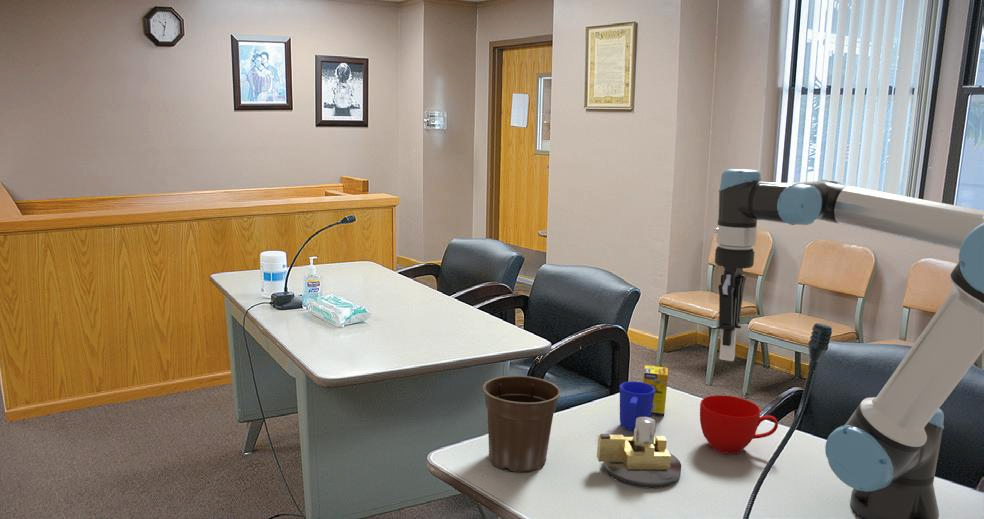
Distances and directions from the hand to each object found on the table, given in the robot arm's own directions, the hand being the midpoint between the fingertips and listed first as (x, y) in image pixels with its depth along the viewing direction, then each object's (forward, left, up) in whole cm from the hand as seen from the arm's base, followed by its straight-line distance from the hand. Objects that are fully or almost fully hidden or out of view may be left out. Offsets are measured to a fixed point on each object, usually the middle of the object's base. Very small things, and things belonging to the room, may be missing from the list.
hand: (726, 359), depth 161 cm
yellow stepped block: (+13, +13, -22) cm, 29 cm away
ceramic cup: (+1, -13, -25) cm, 28 cm away
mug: (+23, -6, -25) cm, 34 cm away
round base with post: (+12, +11, -25) cm, 29 cm away
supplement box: (+25, -20, -25) cm, 40 cm away
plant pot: (+34, +25, -25) cm, 49 cm away
